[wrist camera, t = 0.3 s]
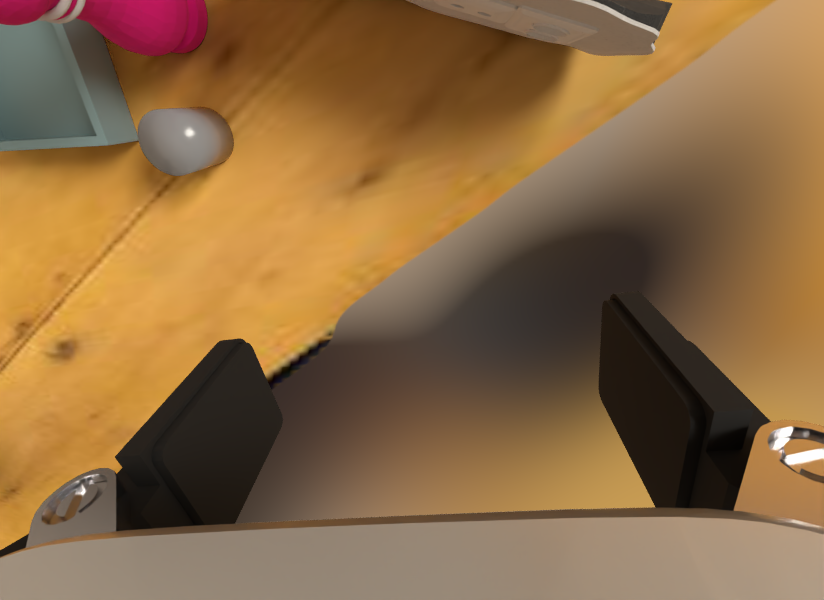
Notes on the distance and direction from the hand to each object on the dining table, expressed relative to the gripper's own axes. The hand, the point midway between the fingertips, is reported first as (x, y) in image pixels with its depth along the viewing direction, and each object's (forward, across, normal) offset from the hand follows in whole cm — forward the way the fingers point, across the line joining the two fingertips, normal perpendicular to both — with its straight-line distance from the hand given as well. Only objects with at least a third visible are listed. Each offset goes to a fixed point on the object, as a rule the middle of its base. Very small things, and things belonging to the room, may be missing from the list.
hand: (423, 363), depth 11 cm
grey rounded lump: (+31, +22, -6) cm, 39 cm away
